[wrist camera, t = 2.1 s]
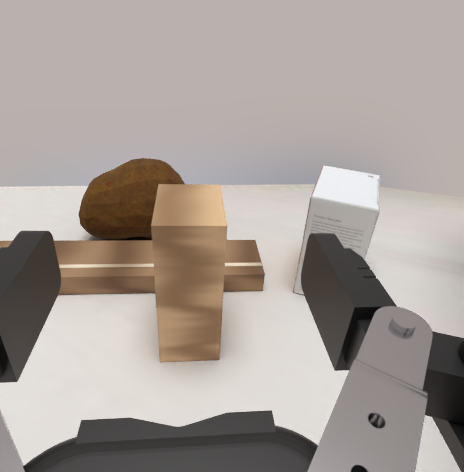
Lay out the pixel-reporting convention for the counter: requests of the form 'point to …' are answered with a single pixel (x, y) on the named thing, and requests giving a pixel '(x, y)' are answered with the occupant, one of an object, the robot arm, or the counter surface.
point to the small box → (342, 211)
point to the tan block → (189, 270)
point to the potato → (125, 199)
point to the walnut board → (141, 266)
